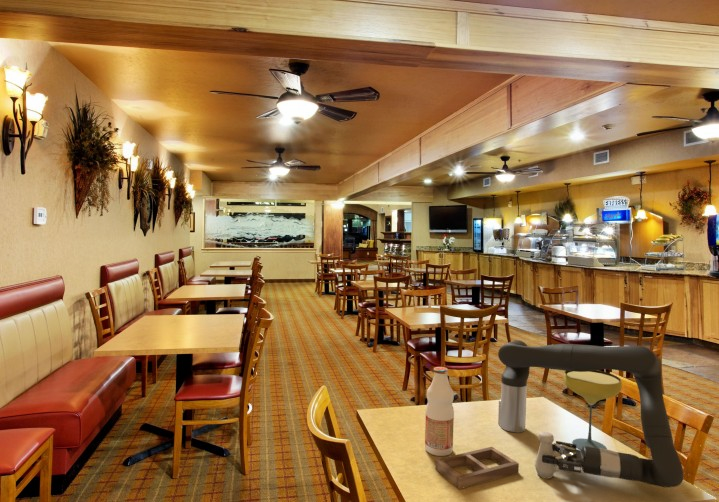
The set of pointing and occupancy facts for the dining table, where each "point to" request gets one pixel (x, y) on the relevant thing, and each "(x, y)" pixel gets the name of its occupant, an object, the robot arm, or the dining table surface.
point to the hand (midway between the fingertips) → (541, 451)
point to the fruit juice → (439, 415)
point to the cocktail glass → (592, 394)
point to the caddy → (477, 467)
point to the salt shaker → (545, 448)
